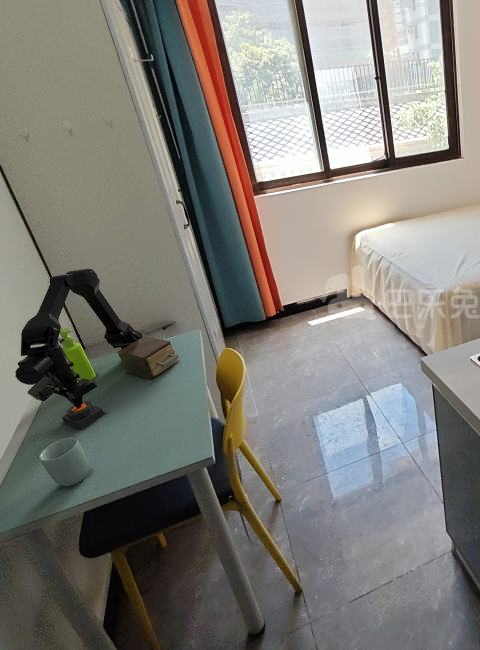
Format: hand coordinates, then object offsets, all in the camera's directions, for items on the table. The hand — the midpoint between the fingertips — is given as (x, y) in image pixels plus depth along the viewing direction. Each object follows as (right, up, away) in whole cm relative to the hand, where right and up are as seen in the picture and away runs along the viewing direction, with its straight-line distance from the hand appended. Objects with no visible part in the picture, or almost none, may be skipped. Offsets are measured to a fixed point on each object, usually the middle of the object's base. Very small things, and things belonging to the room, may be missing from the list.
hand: (79, 407), depth 132 cm
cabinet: (+8, +8, +25) cm, 27 cm away
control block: (0, -4, +2) cm, 4 cm away
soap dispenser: (-13, +4, +22) cm, 26 cm away
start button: (0, -2, +1) cm, 2 cm away
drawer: (+11, +8, +23) cm, 27 cm away
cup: (+14, -13, -21) cm, 28 cm away
